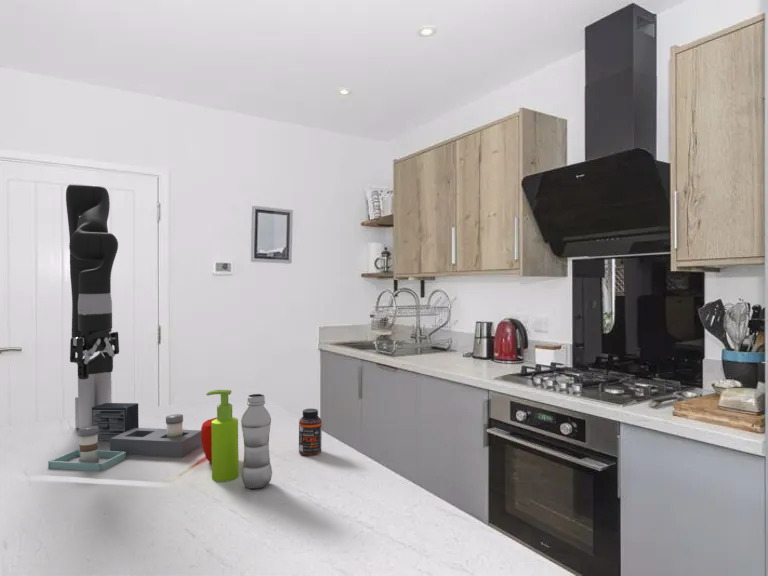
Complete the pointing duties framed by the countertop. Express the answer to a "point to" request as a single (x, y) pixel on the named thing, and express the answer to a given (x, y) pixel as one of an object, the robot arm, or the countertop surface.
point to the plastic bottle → (256, 443)
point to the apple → (207, 439)
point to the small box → (114, 419)
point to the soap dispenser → (224, 440)
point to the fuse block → (158, 440)
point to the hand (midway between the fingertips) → (96, 375)
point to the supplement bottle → (310, 433)
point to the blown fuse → (89, 444)
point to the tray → (61, 463)
